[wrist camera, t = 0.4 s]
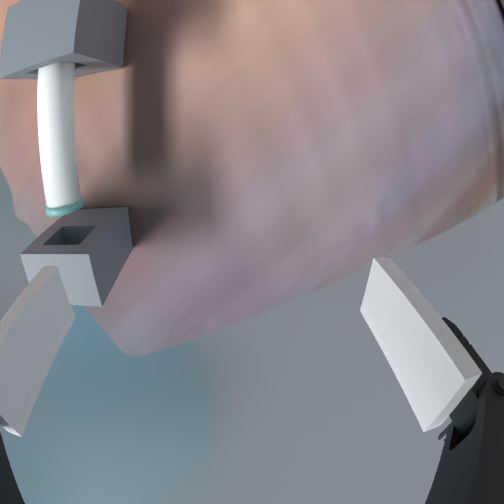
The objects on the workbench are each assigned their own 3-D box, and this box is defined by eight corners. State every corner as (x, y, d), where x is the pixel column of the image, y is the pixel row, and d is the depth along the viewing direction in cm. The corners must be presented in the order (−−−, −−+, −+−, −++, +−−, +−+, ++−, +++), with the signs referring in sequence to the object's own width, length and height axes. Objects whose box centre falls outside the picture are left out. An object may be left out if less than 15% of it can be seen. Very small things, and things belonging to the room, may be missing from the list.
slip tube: (59, -3, 16) (40, -12, 12) (93, -14, 17) (77, -26, 13) (58, 203, 28) (39, 217, 24) (90, 200, 28) (72, 215, 24)
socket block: (70, 209, 34) (20, 254, 23) (127, 206, 35) (88, 254, 24) (77, 248, 37) (36, 301, 26) (133, 248, 38) (102, 306, 27)
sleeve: (65, 26, 22) (8, 7, 11) (127, 11, 23) (85, -25, 12) (61, 80, 26) (-2, 79, 15) (123, 67, 27) (73, 52, 16)
